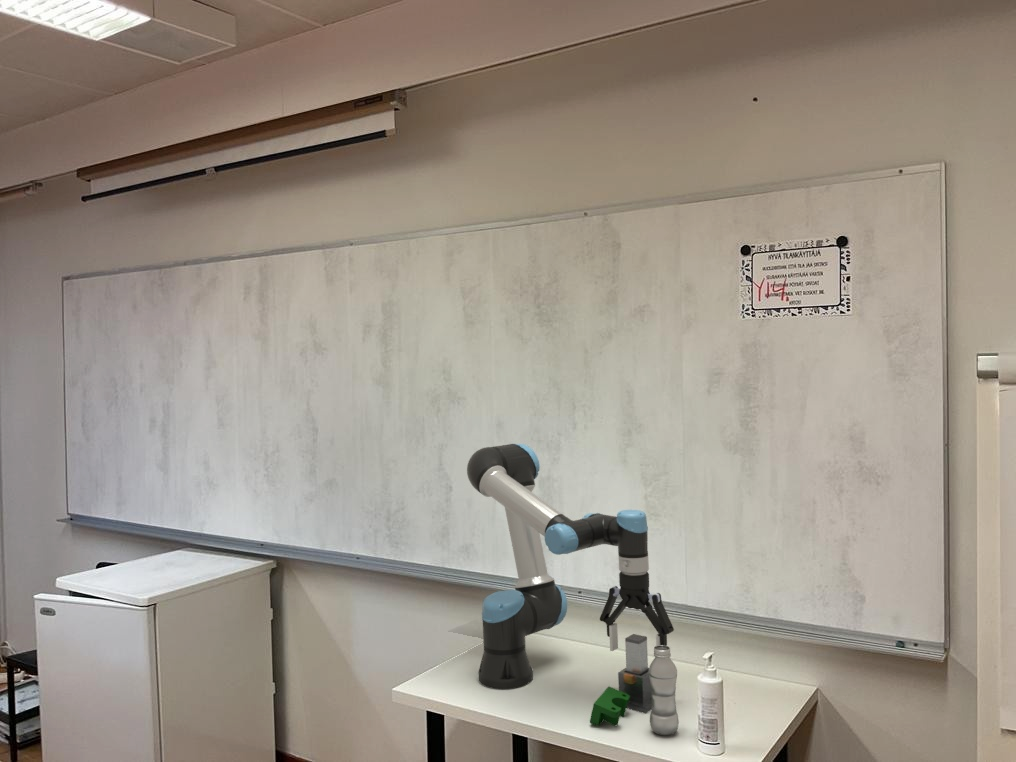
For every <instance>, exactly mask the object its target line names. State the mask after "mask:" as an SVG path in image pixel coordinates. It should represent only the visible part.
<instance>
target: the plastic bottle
mask: <svg viewBox="0 0 1016 762" xmlns="http://www.w3.org/2000/svg"><path fill="white" fill-rule="evenodd" d="M653 656H654V658H653V660H652V661H651V663H650V665H649V666H648V668H649V676H650V682H651V691H652V706H651V710H650V714H649V715H650V716H649V726H650V729H651V730H652V731H653V733H655V734H658V735H662V736H670V735H673V734H675V733H676V732H677V731H678V730H679V729H678V728H679V723H680V721H679V716H678V711H677V703H676V688H677V686H676V685H677V680H678V679H677V678H678V668H677V666H676V664H675V662H674V661H673V660H672V659H671V657H672V654H671V647H670V646H668V645H667V646H664V645H658V646H656V645H655V646H654V648H653Z"/></svg>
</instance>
